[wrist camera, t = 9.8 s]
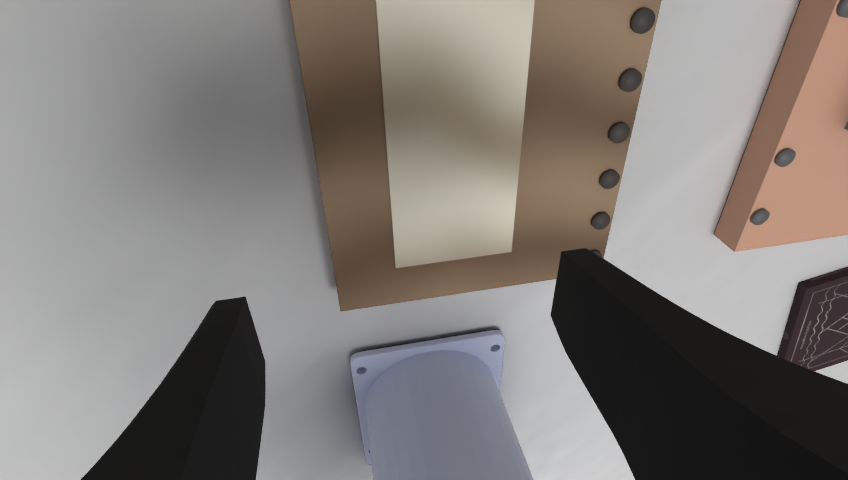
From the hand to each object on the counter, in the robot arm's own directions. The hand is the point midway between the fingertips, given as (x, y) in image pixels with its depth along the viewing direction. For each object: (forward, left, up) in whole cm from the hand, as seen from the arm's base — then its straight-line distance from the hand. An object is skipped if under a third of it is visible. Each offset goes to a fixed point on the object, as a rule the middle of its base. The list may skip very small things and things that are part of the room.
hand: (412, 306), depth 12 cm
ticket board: (+1, -4, -9) cm, 10 cm away
